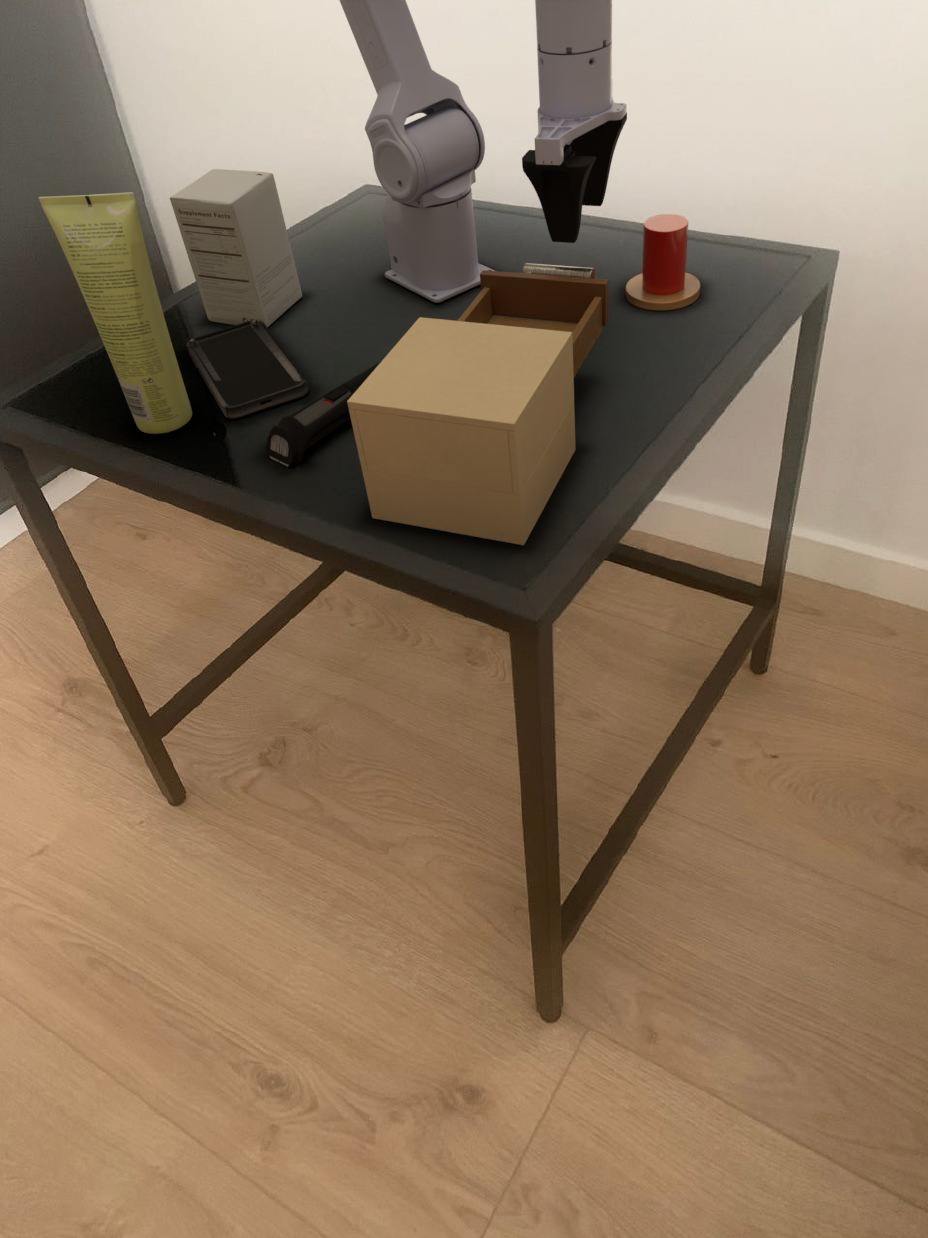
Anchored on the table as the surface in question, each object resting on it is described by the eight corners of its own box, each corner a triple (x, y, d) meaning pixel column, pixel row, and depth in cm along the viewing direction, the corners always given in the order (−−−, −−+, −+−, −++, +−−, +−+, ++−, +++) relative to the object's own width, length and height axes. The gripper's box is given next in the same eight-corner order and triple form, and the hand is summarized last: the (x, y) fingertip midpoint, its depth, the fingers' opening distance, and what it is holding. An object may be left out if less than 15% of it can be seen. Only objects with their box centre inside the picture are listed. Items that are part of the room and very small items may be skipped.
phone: (259, 317, 94) (309, 382, 84) (262, 328, 95) (312, 393, 84) (182, 341, 92) (223, 410, 82) (185, 352, 93) (227, 422, 82)
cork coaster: (610, 295, 92) (610, 287, 92) (661, 270, 95) (661, 262, 94) (663, 318, 88) (663, 310, 87) (715, 291, 91) (716, 283, 90)
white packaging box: (246, 289, 102) (212, 166, 93) (304, 297, 99) (275, 170, 90) (205, 322, 97) (166, 195, 88) (265, 331, 94) (231, 201, 86)
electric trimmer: (425, 385, 84) (421, 352, 82) (294, 470, 76) (285, 436, 74) (395, 374, 86) (390, 341, 84) (264, 455, 78) (255, 422, 76)
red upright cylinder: (633, 286, 91) (634, 224, 87) (662, 272, 93) (665, 210, 89) (663, 299, 89) (666, 235, 85) (693, 284, 90) (697, 220, 86)
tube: (186, 396, 87) (108, 174, 73) (209, 418, 84) (132, 190, 70) (128, 420, 85) (37, 196, 71) (149, 444, 82) (58, 214, 68)
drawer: (504, 292, 85) (500, 248, 82) (622, 302, 81) (623, 256, 78) (433, 383, 75) (426, 337, 72) (565, 400, 71) (563, 351, 68)
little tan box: (435, 429, 78) (419, 316, 72) (575, 449, 74) (572, 331, 67) (372, 518, 71) (346, 401, 64) (524, 545, 67) (514, 423, 60)
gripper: (598, 73, 67) (599, 261, 76) (649, 17, 76) (644, 191, 86) (504, 73, 69) (516, 255, 79) (565, 18, 79) (569, 187, 88)
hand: (577, 221), depth 82 cm, fingers open, 7 cm apart
